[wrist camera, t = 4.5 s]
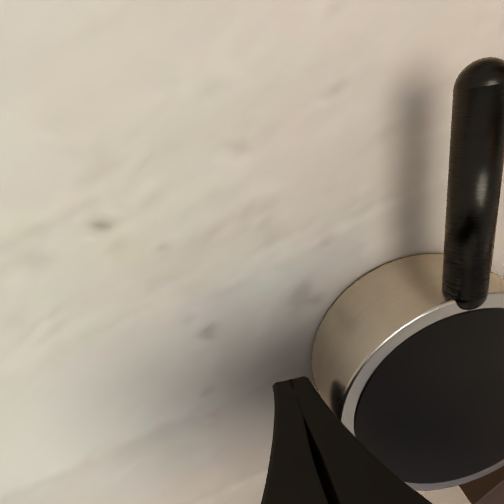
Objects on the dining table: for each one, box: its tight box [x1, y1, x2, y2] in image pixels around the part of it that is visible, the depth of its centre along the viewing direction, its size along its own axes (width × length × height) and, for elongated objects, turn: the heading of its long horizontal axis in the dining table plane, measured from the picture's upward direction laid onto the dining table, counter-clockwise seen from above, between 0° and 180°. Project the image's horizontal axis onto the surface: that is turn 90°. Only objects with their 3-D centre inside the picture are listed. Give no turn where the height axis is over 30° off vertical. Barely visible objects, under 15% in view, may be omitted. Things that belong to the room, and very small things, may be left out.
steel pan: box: [312, 57, 504, 491], centre depth 11 cm, size 14×8×3 cm, turn 9°
